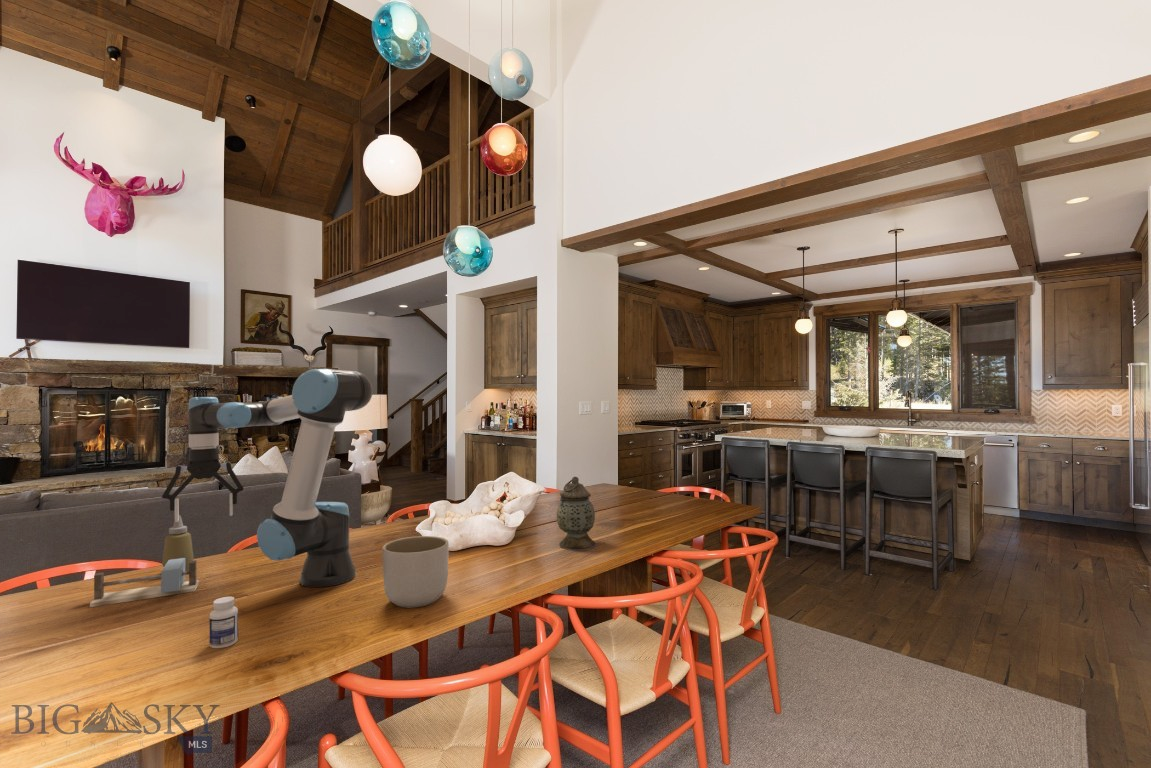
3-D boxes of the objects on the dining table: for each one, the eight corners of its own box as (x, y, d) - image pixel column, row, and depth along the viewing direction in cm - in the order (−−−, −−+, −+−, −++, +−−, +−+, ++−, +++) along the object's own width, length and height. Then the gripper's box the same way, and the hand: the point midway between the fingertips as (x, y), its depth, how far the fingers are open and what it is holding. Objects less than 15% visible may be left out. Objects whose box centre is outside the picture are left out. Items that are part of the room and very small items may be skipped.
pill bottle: (218, 638, 124) (218, 595, 124) (242, 637, 124) (243, 594, 124) (204, 649, 118) (204, 604, 118) (229, 648, 119) (230, 603, 119)
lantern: (596, 550, 190) (595, 479, 191) (556, 551, 190) (555, 479, 191) (595, 540, 204) (594, 473, 205) (557, 540, 204) (557, 474, 205)
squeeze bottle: (176, 578, 166) (177, 519, 167) (155, 576, 168) (155, 518, 168) (200, 569, 174) (200, 513, 175) (179, 568, 176) (179, 512, 176)
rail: (198, 582, 162) (198, 557, 162) (195, 591, 155) (195, 564, 155) (98, 597, 150) (98, 570, 151) (89, 607, 143) (89, 578, 144)
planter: (388, 618, 134) (387, 556, 134) (378, 596, 149) (378, 540, 149) (456, 605, 141) (455, 547, 142) (440, 585, 157) (440, 533, 157)
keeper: (185, 577, 162) (185, 557, 162) (178, 590, 151) (179, 568, 151) (168, 580, 160) (168, 559, 160) (161, 593, 149) (161, 571, 149)
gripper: (251, 444, 174) (252, 510, 173) (153, 450, 161) (154, 521, 160) (252, 445, 168) (252, 514, 167) (150, 451, 154) (150, 526, 154)
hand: (204, 518), depth 164 cm, fingers open, 13 cm apart
